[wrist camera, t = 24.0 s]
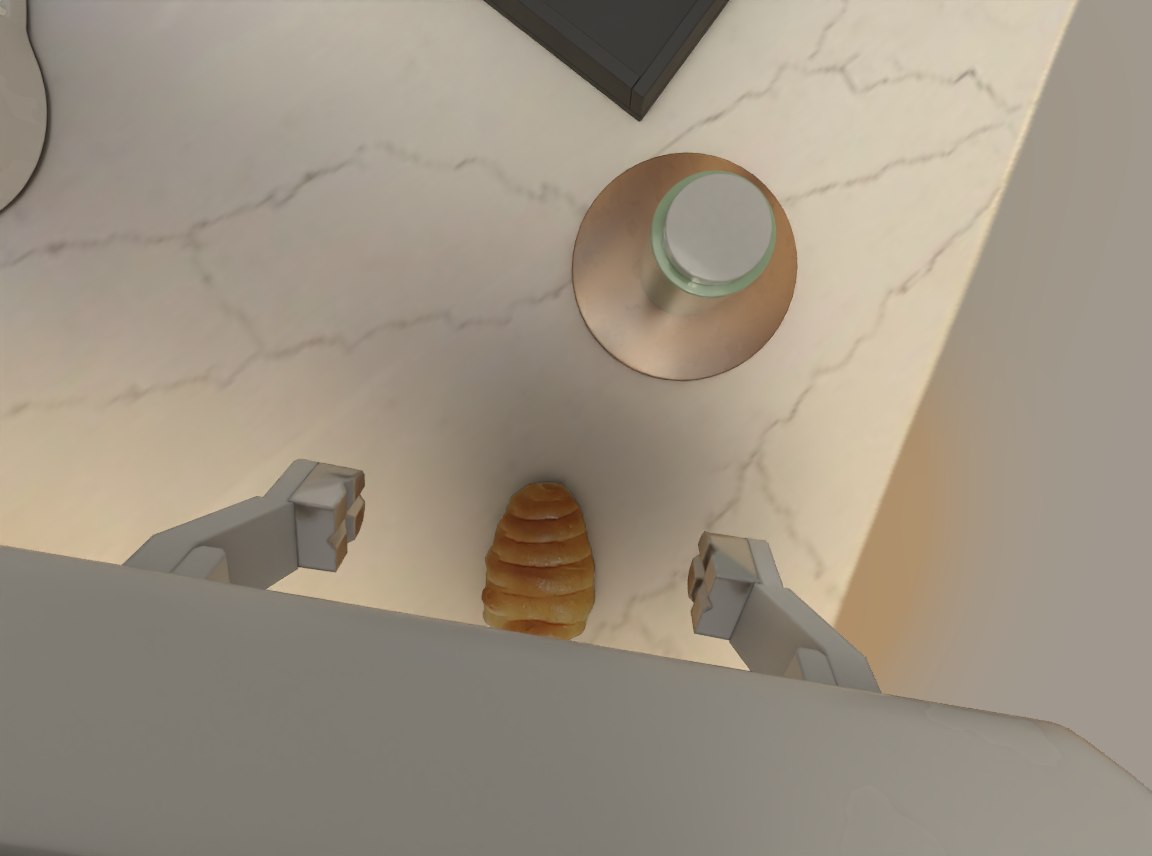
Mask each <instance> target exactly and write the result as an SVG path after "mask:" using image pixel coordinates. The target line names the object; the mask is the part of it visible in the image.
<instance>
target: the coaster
mask: <svg viewBox="0 0 1152 856" xmlns="http://www.w3.org/2000/svg"><path fill="white" fill-rule="evenodd" d="M714 170H715V171H726V172H731V173H734V174H737V175H739V176H741V177H743V178H745V179H747V180H748V181H750V182H751V183H753V184H754V185H755V186H756V187H757V188H758V189H759V190H760V191H761V192H762V193H763V194H764V196H765V197H766V199H767V201H768V202H769V204H770V206H771V209H772V211H773V215H774V218H775V224H776V241H775V246H774V251H773V253H772V256H771V259H770V261H769V263H768V265H767V266H766V268H765V269H764V271H763V272H762V274H761V275H760V276H759V277H758V278H757V279H756V280H755V281H754V282H753V283H751V284H750V285H749V286H747V287H746V288H744V289H743V290H741V291H739V292H738V293H736V294H734V295H733V296H731V297H729V298H728V299H726V300H724V301H723V302H721V303H719V304H718V305H716V306H714V307H713V308H711V309H709V310H707V311H705V312H703V313H701V314H698V315H693V316H676V315H672V314H669V313H666V312H664V311H662V310H660V309H659V308H657V307H656V306H655V305H654V304H653V303H652V302H651V301H650V300H649V299H648V297H647V296H646V294H645V293H644V291H643V289H642V286H641V283H640V278H639V262H640V257H641V254H642V251H643V248H644V245H645V242H646V239H647V236H648V233H649V229H650V226H651V223H652V220H653V217H654V214H655V211H656V209H657V207H658V205H659V203H660V202H661V200H662V199H663V197H664V196H665V195H666V193H667V192H668V191H669V190H670V189H671V188H672V187H673V186H674V185H676V184H677V183H678V182H680V181H681V180H683V179H685V178H687V177H689V176H691V175H694V174H696V173H700V172H704V171H714ZM796 275H797V252H796V246H795V240H794V236H793V232H792V229H791V226H790V223H789V221H788V219H787V216H786V214H785V212H784V210H783V208H782V207H781V205H780V204H779V202H778V200H777V199H776V197H775V196H774V195H773V194H772V193H771V191H770V190H769V189H768V188H767V187H766V186H765V185H764V184H763V183H762V182H761V181H760V180H759V179H758V178H757V177H755V176H754V175H753V174H751V173H750V172H748V171H747V170H745V169H744V168H742V167H740V166H738V165H736V164H734V163H732V162H730V161H728V160H725V159H722V158H719V157H716V156H711V155H706V154H701V153H675V154H668V155H663V156H659V157H655V158H652V159H649V160H647V161H644V162H641V163H639V164H637V165H635V166H634V167H632V168H630V169H628V170H626V171H625V172H624V173H622V174H621V175H619V176H618V177H617V178H615V179H614V180H613V181H612V182H611V183H610V184H609V185H608V186H607V187H605V188H604V190H603V191H602V192H601V193H600V194H599V196H598V197H597V198H596V199H595V200H594V202H593V204H592V205H591V207H590V208H589V210H588V211H587V213H586V215H585V217H584V219H583V221H582V223H581V226H580V228H579V231H578V235H577V238H576V241H575V246H574V251H573V260H572V279H573V288H574V293H575V298H576V301H577V304H578V307H579V310H580V313H581V315H582V317H583V319H584V321H585V323H586V325H587V327H588V329H589V330H590V332H591V333H592V335H593V336H594V338H595V339H596V340H597V341H598V342H599V344H600V345H601V346H602V347H603V348H604V349H605V350H606V351H607V352H608V353H609V354H610V355H612V356H613V357H614V358H615V359H616V360H618V361H619V362H621V363H622V364H624V365H625V366H627V367H629V368H631V369H633V370H635V371H637V372H639V373H642V374H645V375H648V376H651V377H655V378H660V379H665V380H677V381H688V380H699V379H704V378H709V377H713V376H716V375H718V374H721V373H724V372H727V371H729V370H731V369H733V368H735V367H737V366H739V365H740V364H742V363H743V362H745V361H746V360H748V359H749V358H751V357H752V356H753V355H754V354H755V353H757V352H758V351H759V350H760V349H761V348H762V347H763V346H764V345H765V344H766V343H767V342H768V341H769V339H770V338H771V337H772V336H773V334H774V333H775V332H776V330H777V329H778V327H779V326H780V324H781V322H782V320H783V319H784V317H785V315H786V313H787V311H788V308H789V305H790V302H791V300H792V297H793V293H794V288H795V284H796Z"/></svg>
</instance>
